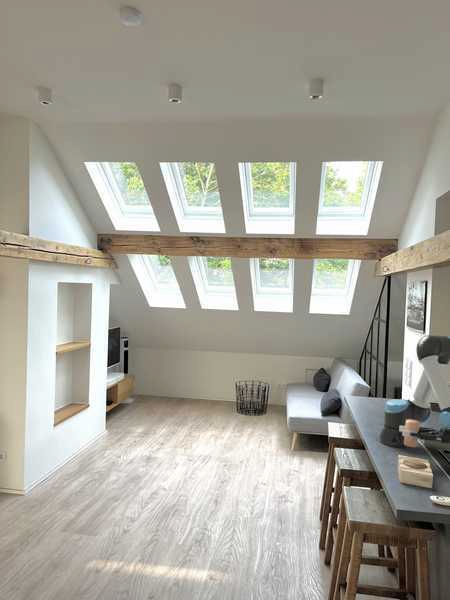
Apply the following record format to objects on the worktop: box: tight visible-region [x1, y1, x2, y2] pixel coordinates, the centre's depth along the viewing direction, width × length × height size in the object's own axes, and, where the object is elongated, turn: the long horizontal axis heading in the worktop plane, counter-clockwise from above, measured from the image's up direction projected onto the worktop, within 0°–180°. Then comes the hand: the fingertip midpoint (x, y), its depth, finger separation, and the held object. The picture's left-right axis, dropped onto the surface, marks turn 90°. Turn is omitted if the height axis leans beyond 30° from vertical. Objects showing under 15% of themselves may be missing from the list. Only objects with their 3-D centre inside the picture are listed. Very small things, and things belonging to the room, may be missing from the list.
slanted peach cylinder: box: [404, 419, 421, 448], centre depth 231 cm, size 6×6×12 cm
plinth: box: [397, 454, 434, 489], centre depth 210 cm, size 20×13×6 cm, turn 162°
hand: (401, 430), depth 232 cm, fingers closed on slanted peach cylinder, 6 cm apart
